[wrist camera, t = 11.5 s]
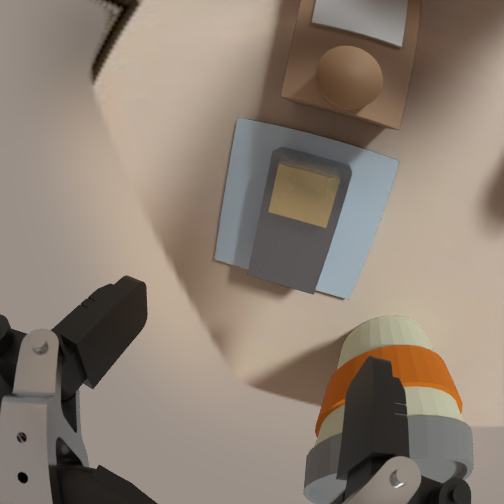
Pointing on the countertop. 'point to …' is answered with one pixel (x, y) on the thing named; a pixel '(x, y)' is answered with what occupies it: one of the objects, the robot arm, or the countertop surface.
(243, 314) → the countertop surface
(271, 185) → the lever cap
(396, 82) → the plane body
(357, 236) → the rubber mat
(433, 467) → the reusable coffee cup
